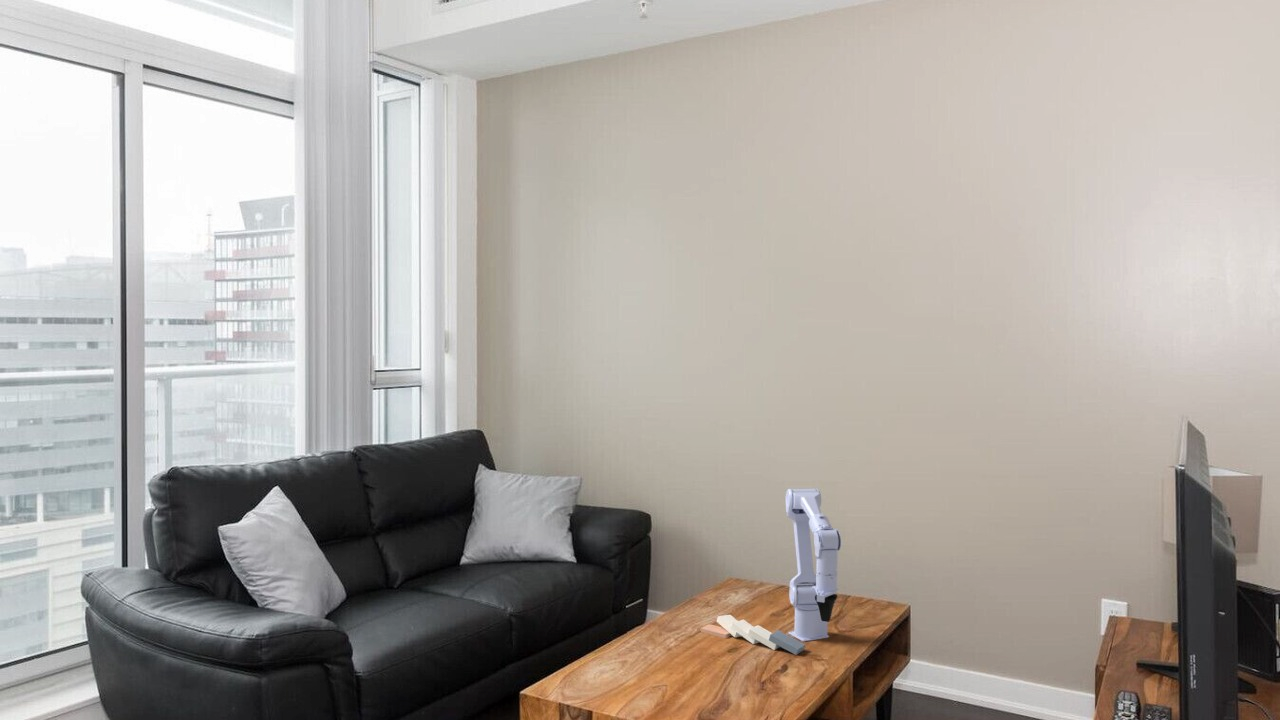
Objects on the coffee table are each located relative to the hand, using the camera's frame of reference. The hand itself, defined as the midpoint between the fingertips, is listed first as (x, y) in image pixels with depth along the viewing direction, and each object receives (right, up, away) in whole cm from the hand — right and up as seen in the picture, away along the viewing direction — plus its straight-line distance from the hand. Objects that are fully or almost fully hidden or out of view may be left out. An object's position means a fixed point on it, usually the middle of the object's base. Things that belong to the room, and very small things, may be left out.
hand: (825, 620), depth 261 cm
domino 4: (-12, -9, +8) cm, 17 cm away
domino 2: (-22, -8, +16) cm, 28 cm away
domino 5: (-6, -9, +4) cm, 12 cm away
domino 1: (-25, -9, +17) cm, 32 cm away
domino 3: (-17, -9, +12) cm, 22 cm away
